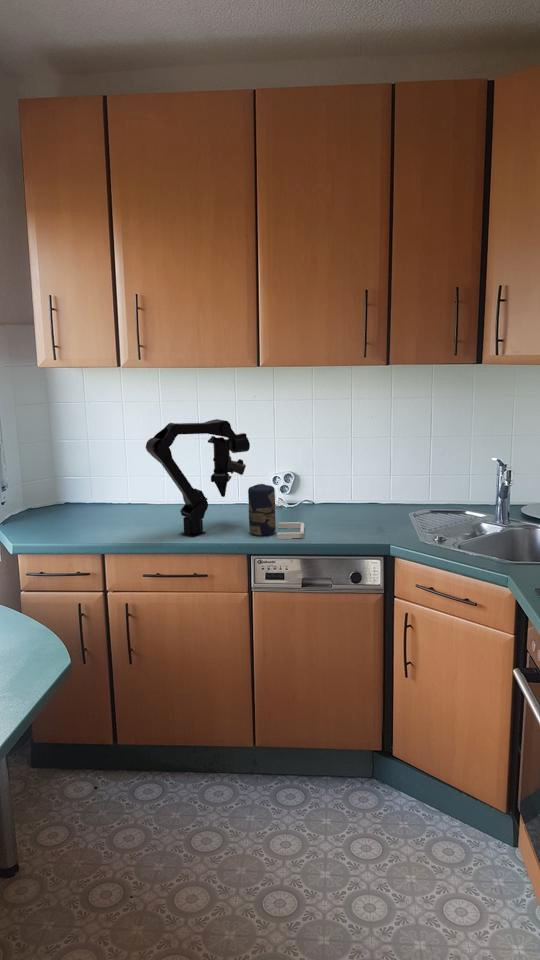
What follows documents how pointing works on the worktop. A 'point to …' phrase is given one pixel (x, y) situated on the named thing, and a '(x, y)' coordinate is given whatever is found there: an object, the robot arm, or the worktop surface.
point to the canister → (262, 509)
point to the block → (291, 534)
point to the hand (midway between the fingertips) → (223, 496)
